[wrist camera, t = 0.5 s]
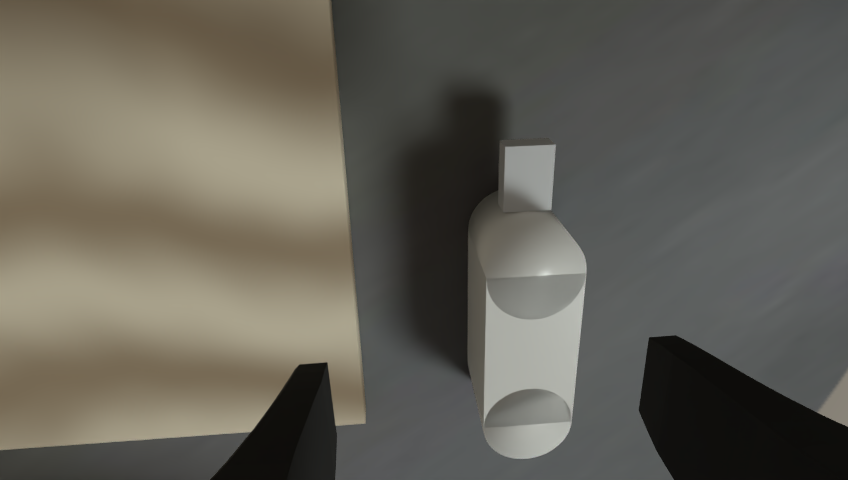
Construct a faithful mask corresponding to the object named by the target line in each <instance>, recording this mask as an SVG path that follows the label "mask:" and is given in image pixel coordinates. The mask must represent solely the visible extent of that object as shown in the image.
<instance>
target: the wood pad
mask: <svg viewBox="0 0 848 480" xmlns="http://www.w3.org/2000/svg"><path fill="white" fill-rule="evenodd" d="M324 362H327V363H328V371H329V379H330V386H331V394H332V402H333V410H334V418H335V425H336V426H338V425H352V424H365V420H366V403H365V392H364V380H363V368H362V356H361V345H360V333H359V321H358V309H357V298H356V286H355V274H354V263H353V251H352V239H351V227H350V216H349V204H348V192H347V180H346V169H345V157H344V145H343V133H342V122H341V110H340V98H339V87H338V75H337V63H336V51H335V40H334V28H333V16H332V4H331V0H0V450H8V449H22V448H36V447H50V446H63V445H77V444H91V443H105V442H118V441H132V440H146V439H160V438H173V437H187V436H201V435H215V434H228V433H242V432H252V430H253V429H254V428H255V426H256V425H257V424H258V422H259V421H260V420H261V418H262V417H263V416H264V414H265V413H266V411H267V410H268V409H269V407H270V406H271V405H272V403H273V402H274V400H275V399H276V397H277V396H278V394H279V393H280V391H281V390H282V388H283V387H284V385H285V384H286V382H287V381H288V379H289V378H290V376H291V374H292V373H293V371H294V370H295V368H296V367H297V366H298V365H299V364H311V363H324Z"/></svg>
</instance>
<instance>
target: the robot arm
mask: <svg viewBox="0 0 848 480" xmlns="http://www.w3.org/2000/svg"><path fill="white" fill-rule="evenodd" d="M639 412H640V414H641V417H642V419H643V421H644V424H645V426H646V428H647V431H648V433H649V435H650V437H651V440H652V442H653V444H654V446H655V448H656V450H657V452H658V454H659V456H660V457H661V459H662V461H663V462H664V464H665V466H666V467H667V469H668V471H669V472H670V474H671V475H672V477H673V479H674V480H848V427H847V426H845V425H842V424H840V423H838V422H836V421H833V420H831V419H829V418H826V417H825V416H823V415H821V414H819V413H817V412H815V411H813V410H811V409H809V408H807V407H805V406H803V405H801V404H799V403H797V402H795V401H793V400H791V399H789V398H787V397H785V396H783V395H782V394H780V393H778V392H776V391H774V390H772V389H770V388H769V387H767V386H765V385H763V384H761V383H760V382H758V381H756V380H754V379H753V378H751V377H749V376H747V375H745V374H744V373H742V372H740V371H738V370H737V369H735V368H733V367H732V366H730V365H728V364H726V363H725V362H723V361H721V360H719V359H718V358H716V357H714V356H713V355H711V354H709V353H707V352H706V351H704V350H702V349H700V348H699V347H697V346H695V345H693V344H691V343H690V342H688V341H686V340H684V339H682V338H680V337H678V336H676V335H675V336H662V337H649V342H648V349H647V356H646V363H645V370H644V377H643V384H642V391H641V399H640V406H639ZM336 445H337V433H336V425H335V418H334V410H333V402H332V394H331V386H330V379H329V371H328V363H327V362H324V363H311V364H299V365H298V366H297V367H296V368H295V370H294V371H293V373H292V374H291V376H290V378H289V379H288V381H287V382H286V384H285V385H284V387H283V388H282V390H281V391H280V393H279V394H278V396H277V397H276V399H275V400H274V402H273V403H272V405H271V406H270V407H269V409H268V410H267V411H266V413H265V414H264V416H263V417H262V418H261V420H260V421H259V422H258V424H257V425H256V426H255V428H254V429H253V430H252V432H251V433H250V434H249V435H248V437H247V438H246V439H245V440H244V441H243V443H242V444H241V445H240V446H239V447H238V449H237V450H236V451H235V452H234V454H233V455H232V456H231V457H230V458H229V460H228V461H227V462H226V463H225V464H224V465H223V466H222V467H221V469H220V470H219V471H218V472H217V473H216V474H215V475H214V476H213V477H212V478H211V479H210V480H335V470H336Z"/></svg>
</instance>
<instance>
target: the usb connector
mask: <svg viewBox="0 0 848 480" xmlns="http://www.w3.org/2000/svg"><path fill="white" fill-rule="evenodd" d="M555 147H556V145H555V144H554V143H553V142H552V141H551V140H550V139H549V138H534V139H511V140H500V148H499V185H498V191H495V192H493V193H491V194H490V195H488V196H487V197H485V198H484V199H483V200H482V201H481V202H480V203H479V204H478V205H477V206H476V208H475V209H474V211H473V213H472V215H471V217H470V220H469V225H468V344H467V363H468V369H469V373H470V377H471V381H472V385H473V390H474V394H475V398H476V402H477V406H478V410H479V415H480V419H481V423H482V427H483V431H484V436H485V439H486V441H487V443H488V444H489V445H490V447H491V448H492V449H494V450H495V451H496V452H498V453H499V454H501V455H503V456H506V457H509V458H515V459H528V458H534V457H538V456H541V455H543V454H546V453H548V452H549V451H551V450H553V449H554V448H556V447H557V446H558V445H559V444H560V443H561V442H562V441H563V440H564V439H565V437H566V436H567V434H568V432H569V430H570V427H571V422H572V412H573V402H574V392H575V382H576V372H577V362H578V352H579V342H580V332H581V322H582V312H583V302H584V292H585V282H586V268H587V267H586V260H585V257H584V254H583V252H582V250H581V249H580V247H579V246H578V244H577V243H576V242H575V240H574V239H573V238H572V237H571V235H570V234H569V233H568V232H567V230H566V229H565V228H564V226H563V225H562V224H561V223H560V221H559V220H558V219H557V218H556V216H555V215H554V214H553V213H552V211H551V205H552V191H553V176H554V161H555Z"/></svg>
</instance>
